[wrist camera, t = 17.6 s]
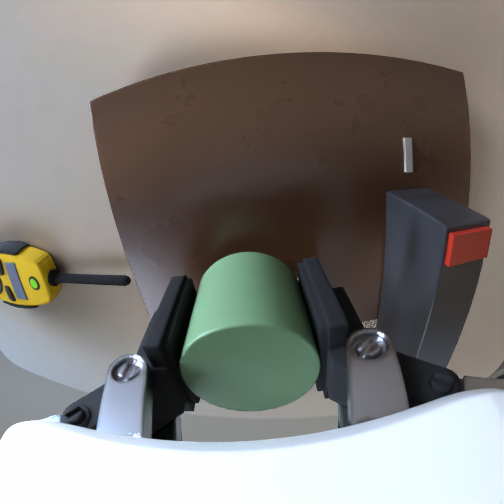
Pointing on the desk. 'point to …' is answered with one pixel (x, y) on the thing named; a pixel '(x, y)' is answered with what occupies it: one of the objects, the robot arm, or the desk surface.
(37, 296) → the yellow walkie-talkie
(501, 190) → the desk surface
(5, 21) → the desk surface
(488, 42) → the desk surface
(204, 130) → the base
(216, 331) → the green cylinder
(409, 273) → the block
